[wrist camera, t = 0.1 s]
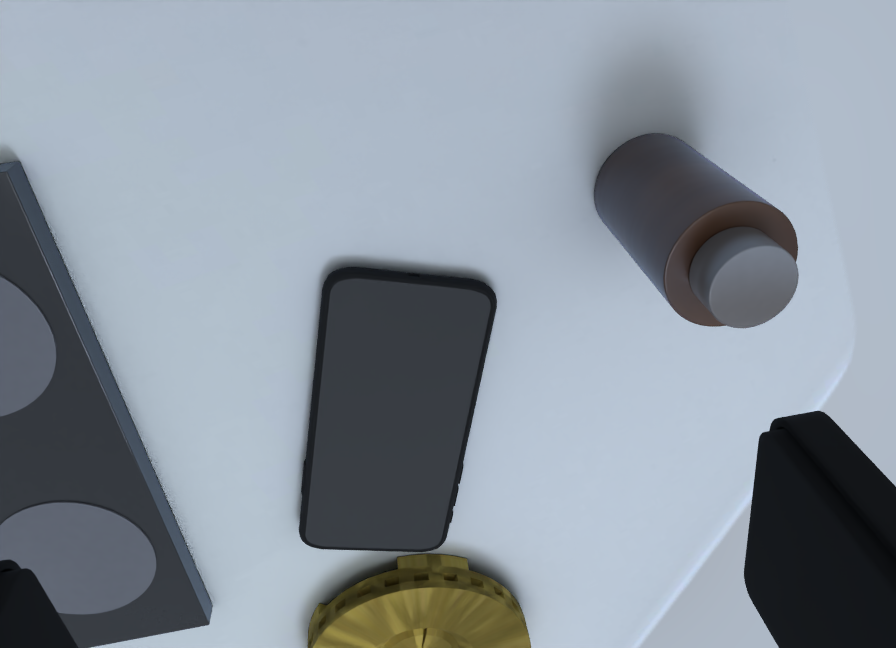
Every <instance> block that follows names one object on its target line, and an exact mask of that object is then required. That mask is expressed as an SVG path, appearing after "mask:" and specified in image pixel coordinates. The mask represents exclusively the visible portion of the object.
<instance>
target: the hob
mask: <svg viewBox="0 0 896 648" xmlns="http://www.w3.org/2000/svg"><path fill="white" fill-rule="evenodd" d="M9 559H10V560H12V561H15V562H16V563H17V564H18V565H19V566H20V568H21V569H24V568H28V569H30V570H32V572H33V573H34V574H35V575H36V577H37V579H38V581H39V582H40V584H41V586H42V587H43V589H44V591H45V592H46V594H47V596H48V597H49V599H50V601H51V602H52V604H53V606H54V607H55V609H56V611H57V612H58V614H59V616H60V617H61V619H62V621H63V622H64V624H65V626H66V627H67V629H68V631H69V632H70V634H71V636H72V638H73V639H74V641H75V643H76V644H77V646H78V648H90V647H95V646H101V645H106V644H111V643H116V642H122V641H127V640H132V639H137V638H143V637H148V636H153V635H158V634H164V633H169V632H174V631H179V630H185V629H190V628H195V627H200V626H205V625H209V623H210V618H211V612H212V603H211V601H210V599H209V596H208V594H207V592H206V590H205V587H204V585H203V583H202V580H201V578H200V576H199V573H198V571H197V569H196V567H195V564H194V562H193V560H192V557H191V555H190V553H189V550H188V548H187V546H186V544H185V541H184V539H183V537H182V534H181V532H180V530H179V527H178V525H177V523H176V521H175V518H174V516H173V514H172V511H171V509H170V507H169V504H168V502H167V500H166V498H165V495H164V493H163V491H162V488H161V486H160V484H159V481H158V479H157V477H156V475H155V472H154V470H153V468H152V465H151V463H150V461H149V458H148V456H147V454H146V452H145V449H144V447H143V445H142V442H141V440H140V438H139V435H138V433H137V431H136V429H135V426H134V424H133V422H132V419H131V417H130V415H129V412H128V410H127V408H126V405H125V403H124V401H123V399H122V396H121V394H120V392H119V389H118V387H117V385H116V382H115V380H114V378H113V376H112V373H111V371H110V369H109V366H108V364H107V362H106V359H105V357H104V355H103V353H102V350H101V348H100V346H99V343H98V341H97V339H96V336H95V334H94V332H93V330H92V327H91V325H90V323H89V320H88V318H87V316H86V313H85V311H84V309H83V307H82V304H81V302H80V300H79V297H78V295H77V293H76V290H75V288H74V286H73V284H72V281H71V279H70V277H69V274H68V272H67V270H66V267H65V265H64V263H63V261H62V258H61V256H60V254H59V251H58V249H57V247H56V244H55V242H54V240H53V238H52V235H51V233H50V231H49V228H48V226H47V224H46V221H45V219H44V217H43V215H42V212H41V210H40V208H39V205H38V203H37V201H36V198H35V196H34V194H33V192H32V189H31V187H30V185H29V182H28V180H27V178H26V175H25V173H24V171H23V169H22V166H21V164H20V162H19V161H16V162H10V163H4V164H0V561H1V560H9Z"/></svg>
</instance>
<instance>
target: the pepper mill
mask: <svg viewBox="0 0 896 648" xmlns="http://www.w3.org/2000/svg"><path fill="white" fill-rule="evenodd" d="M594 198H595V205H596V209H597V212H598V214H599V217H600V218H601V220H602V221H603V223H604V224H605V225H606V226H607V228H608V229H609V230H610V231H611V232H612V234H613V235H614V236H615V237H616V239H617V240H618V241H619V242H620V244H621V245H622V246H623V247H624V249H625V250H626V251H627V252H628V253H629V255H630V256H631V257H632V258H633V260H634V261H635V262H636V263H637V265H638V266H639V267H640V268H641V270H642V271H643V272H644V273H645V274H646V276H647V277H648V278H649V279H650V281H651V282H652V283H653V284H654V286H655V287H656V288H657V289H658V291H659V292H660V293H661V294H662V295H663V297H664V298H665V299H666V300H667V302H668V303H669V304H670V305H671V307H672V308H673V309H674V310H675V311H676V312H677V313H678V314H679V315H680V316H681V317H683V318H684V319H686V320H688V321H690V322H692V323H695V324H699V325H703V326H726V325H727V326H730V327H734V328H749V327H754V326H757V325H760V324H763V323H765V322H767V321H769V320H770V319H772V318H773V317H775V316H776V315H778V314H779V313H780V312H781V311H782V310H783V309H784V308H785V307H786V306H787V304H788V303H789V302H790V300H791V299H792V297H793V295H794V293H795V291H796V288H797V284H798V268H797V264H796V260H797V253H798V244H797V237H796V233H795V230H794V228H793V225H792V224H791V222H790V221H789V219H788V218H787V217H786V216H785V215H784V213H783V212H781V211H780V210H778V209H777V208H776V207H774V206H773V205H772V204H770V203H769V202H767V201H766V200H765V199H763V198H762V197H760V196H759V195H758V194H756V193H755V192H753V191H752V190H751V189H749V188H748V187H746V186H745V185H744V184H742V183H741V182H739V181H738V180H736V179H735V178H734V177H732V176H731V175H729V174H728V173H727V172H725V171H724V170H722V169H721V168H720V167H718V166H717V165H715V164H714V163H713V162H711V161H710V160H708V159H707V158H706V157H704V156H703V155H701V154H700V153H699V152H697V151H696V150H694V149H693V148H692V147H690V146H689V145H687V144H686V143H685V142H683V141H682V140H680V139H678V138H676V137H674V136H671V135H666V134H647V135H643V136H640V137H637V138H634V139H632V140H630V141H628V142H626V143H625V144H623V145H622V146H620V147H619V148H618V149H617V150H616V151H614V152H613V154H612V155H611V156H610V157H609V158H608V159H607V161H606V162H605V163H604V165H603V167H602V168H601V170H600V173H599V175H598V178H597V181H596V185H595V194H594Z"/></svg>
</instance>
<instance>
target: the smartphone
mask: <svg viewBox="0 0 896 648" xmlns="http://www.w3.org/2000/svg"><path fill="white" fill-rule="evenodd" d="M496 308H497V299H496V295H495V293H494V291H493V290H492V289H491V287H489V286H488V285H486V284H485V283H483V282H480V281H477V280H474V279H466V278H456V277H446V276H436V275H426V274H416V273H406V272H396V271H387V270H378V269H368V268H359V267H347V268H342V269H339V270H336V271H334V272H332V273H331V274H330V275H328V277H327V279H326V280H325V282H324V285H323V289H322V298H321V309H320V319H319V329H318V339H317V349H316V360H315V370H314V380H313V390H312V400H311V411H310V421H309V431H308V441H307V451H306V459H305V461H304V468H303V479H302V490H301V492H302V504H301V514H300V525H299V533H300V537H301V539H302V541H303V542H304V543H305V544H307V545H309V546H311V547H314V548H319V549H335V550H370V551H403V552H426V551H431V550H434V549H437V548H439V547H440V546H441V545H442V544H443V543H444V541H445V540H446V537H447V533H448V529H449V524H450V523H451V521H452V516H453V506H455V503H456V498H457V494H458V484H460V480H461V475H462V471H463V460H464V455H465V451H466V446H467V442H468V437H469V432H470V428H471V423H472V418H473V414H474V409H475V405H476V400H477V395H478V391H479V386H480V382H481V377H482V372H483V368H484V363H485V358H486V354H487V349H488V345H489V340H490V335H491V331H492V326H493V321H494V317H495V312H496Z"/></svg>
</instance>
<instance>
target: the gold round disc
mask: <svg viewBox="0 0 896 648" xmlns="http://www.w3.org/2000/svg"><path fill="white" fill-rule="evenodd" d="M397 563H398V569H396V570H392V571H388V572H384V573H381V574H378V575H376V576H373V577H370V578H368V579H366V580H363V581H361V582H359V583H357V584H355V585H354V586H352V587H350V588H348V589H347V590H345V591H344V592H342V593H341V594H340V595H338V596H337V597H336V598H335V599H333V600H332V601H331V602H330V603H329V604H328V605H323V604H320V603H319V605H318V606H317V608H316V610H315V611H314V613H313V616H312V618H311V621H310V625H309V630H308V648H531V644H530V638H529V634H528V630H527V626H526V622H525V618H524V615H523V612H522V609H521V607H520V605H519V604H518V602H517V600H516V599H515V598H514V596H513V595H512V594H511V593H510V592H509V591H508V590H507V589H506V588H505V587H503V586H502V585H501V584H499V583H498V582H496V581H494V580H493V579H491V578H489V577H487V576H484V575H482V574H480V573H477V572H473V571H470V570H469V568H468V563H467V559H466V558H461V557H457V556H450V555H442V554H420V555H409V556H403V557H397Z"/></svg>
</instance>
